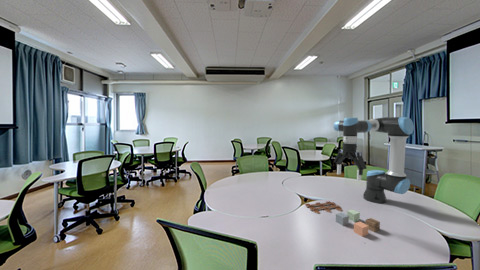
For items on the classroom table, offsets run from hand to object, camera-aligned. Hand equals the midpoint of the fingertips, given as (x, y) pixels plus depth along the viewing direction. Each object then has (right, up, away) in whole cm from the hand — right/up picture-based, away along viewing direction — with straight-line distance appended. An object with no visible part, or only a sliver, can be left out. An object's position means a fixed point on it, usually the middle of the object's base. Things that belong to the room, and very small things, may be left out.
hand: (348, 177), depth 120 cm
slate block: (-4, -28, 0) cm, 28 cm away
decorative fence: (-7, -27, +20) cm, 35 cm away
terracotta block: (+1, -29, -11) cm, 31 cm away
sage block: (+5, -28, +4) cm, 28 cm away
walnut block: (+10, -29, -7) cm, 31 cm away
